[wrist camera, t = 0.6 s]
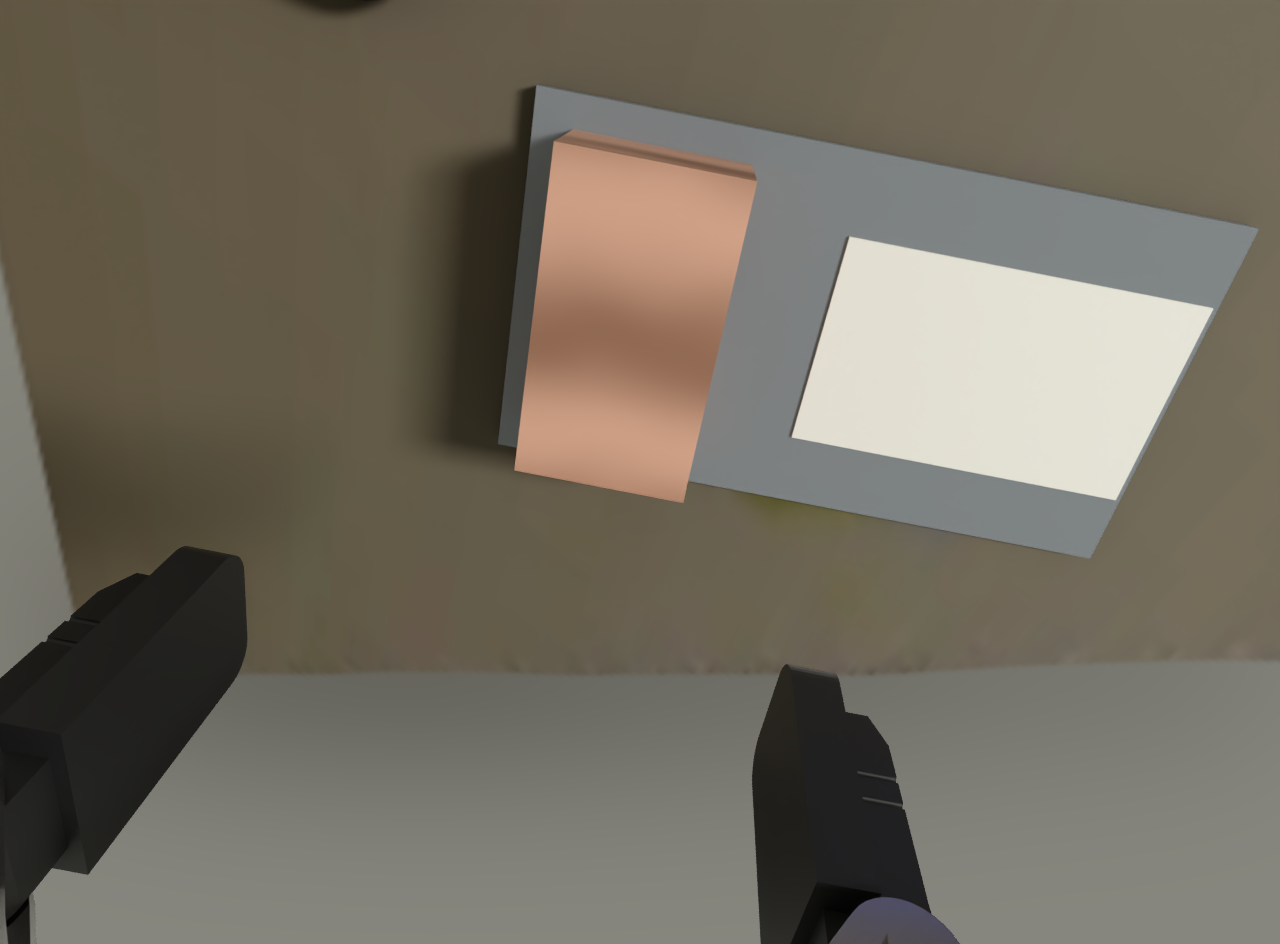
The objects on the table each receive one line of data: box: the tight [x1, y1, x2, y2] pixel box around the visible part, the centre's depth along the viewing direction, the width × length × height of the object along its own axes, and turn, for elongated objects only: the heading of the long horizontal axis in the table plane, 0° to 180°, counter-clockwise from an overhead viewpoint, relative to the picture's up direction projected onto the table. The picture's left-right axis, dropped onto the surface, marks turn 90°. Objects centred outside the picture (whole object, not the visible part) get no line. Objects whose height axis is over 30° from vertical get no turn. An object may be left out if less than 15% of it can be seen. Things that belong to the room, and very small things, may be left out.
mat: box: [498, 84, 1259, 558], centre depth 28 cm, size 12×22×1 cm, turn 80°
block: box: [514, 129, 757, 503], centre depth 26 cm, size 10×6×4 cm, turn 170°
